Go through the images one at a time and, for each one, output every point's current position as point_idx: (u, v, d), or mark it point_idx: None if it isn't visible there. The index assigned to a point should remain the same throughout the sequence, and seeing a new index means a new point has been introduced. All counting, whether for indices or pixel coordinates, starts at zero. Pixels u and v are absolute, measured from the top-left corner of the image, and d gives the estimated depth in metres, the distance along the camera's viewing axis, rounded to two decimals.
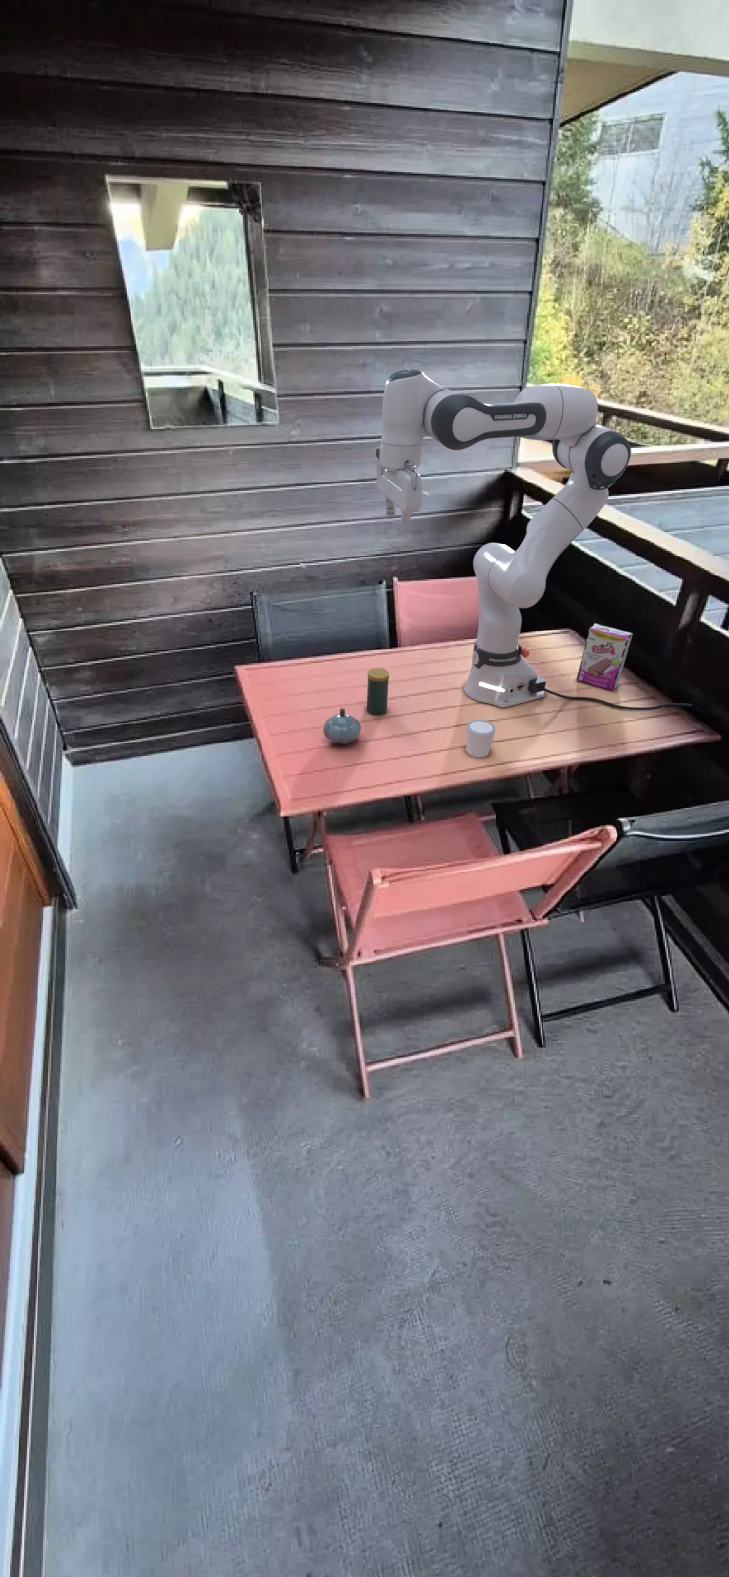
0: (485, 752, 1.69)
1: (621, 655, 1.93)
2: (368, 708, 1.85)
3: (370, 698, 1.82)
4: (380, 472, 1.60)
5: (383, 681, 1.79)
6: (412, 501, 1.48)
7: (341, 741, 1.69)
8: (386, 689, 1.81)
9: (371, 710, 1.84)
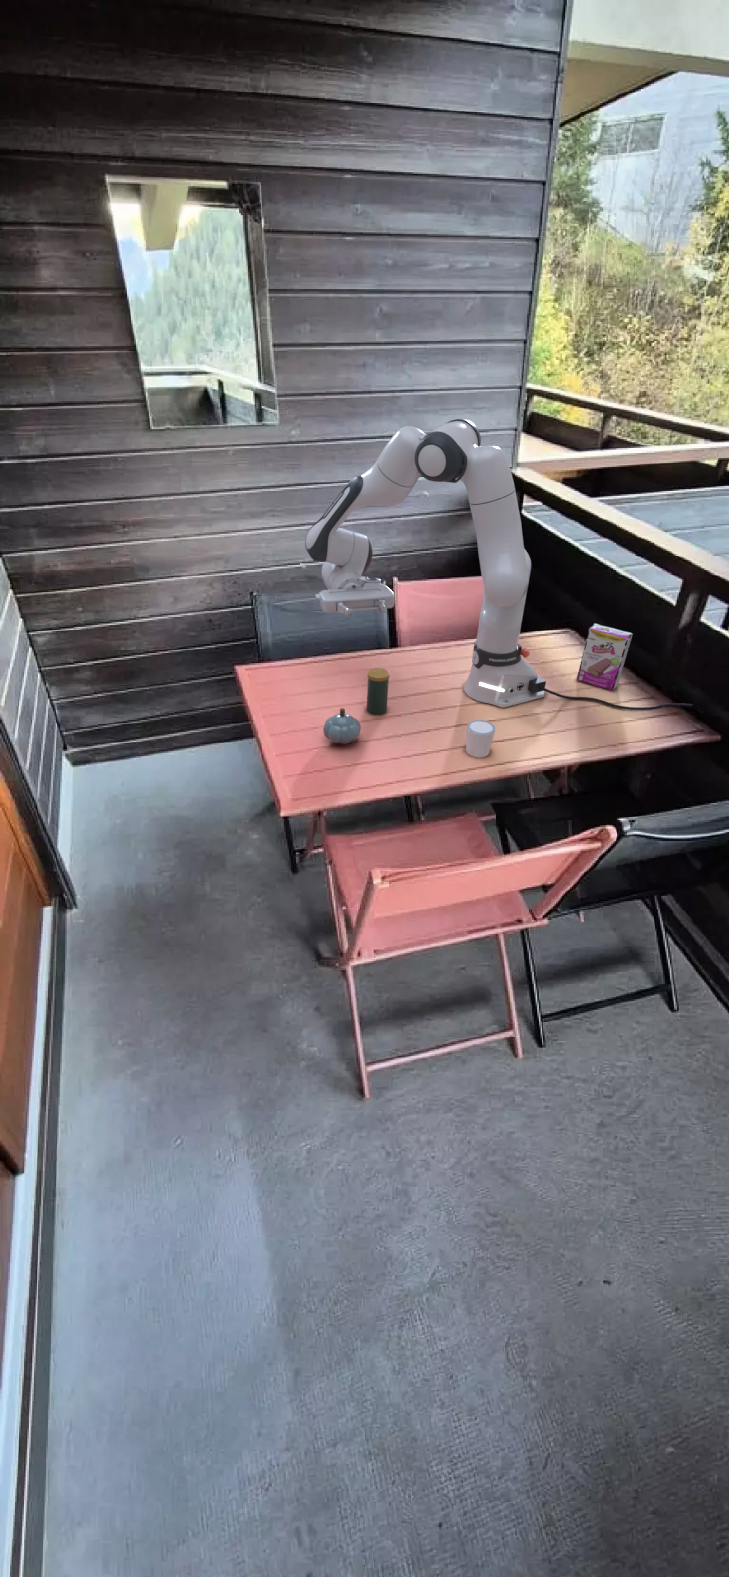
0: (485, 752, 1.69)
1: (621, 655, 1.93)
2: (368, 708, 1.85)
3: (370, 698, 1.82)
4: None
5: (383, 681, 1.79)
6: (321, 605, 1.84)
7: (341, 741, 1.69)
8: (386, 689, 1.81)
9: (371, 710, 1.84)
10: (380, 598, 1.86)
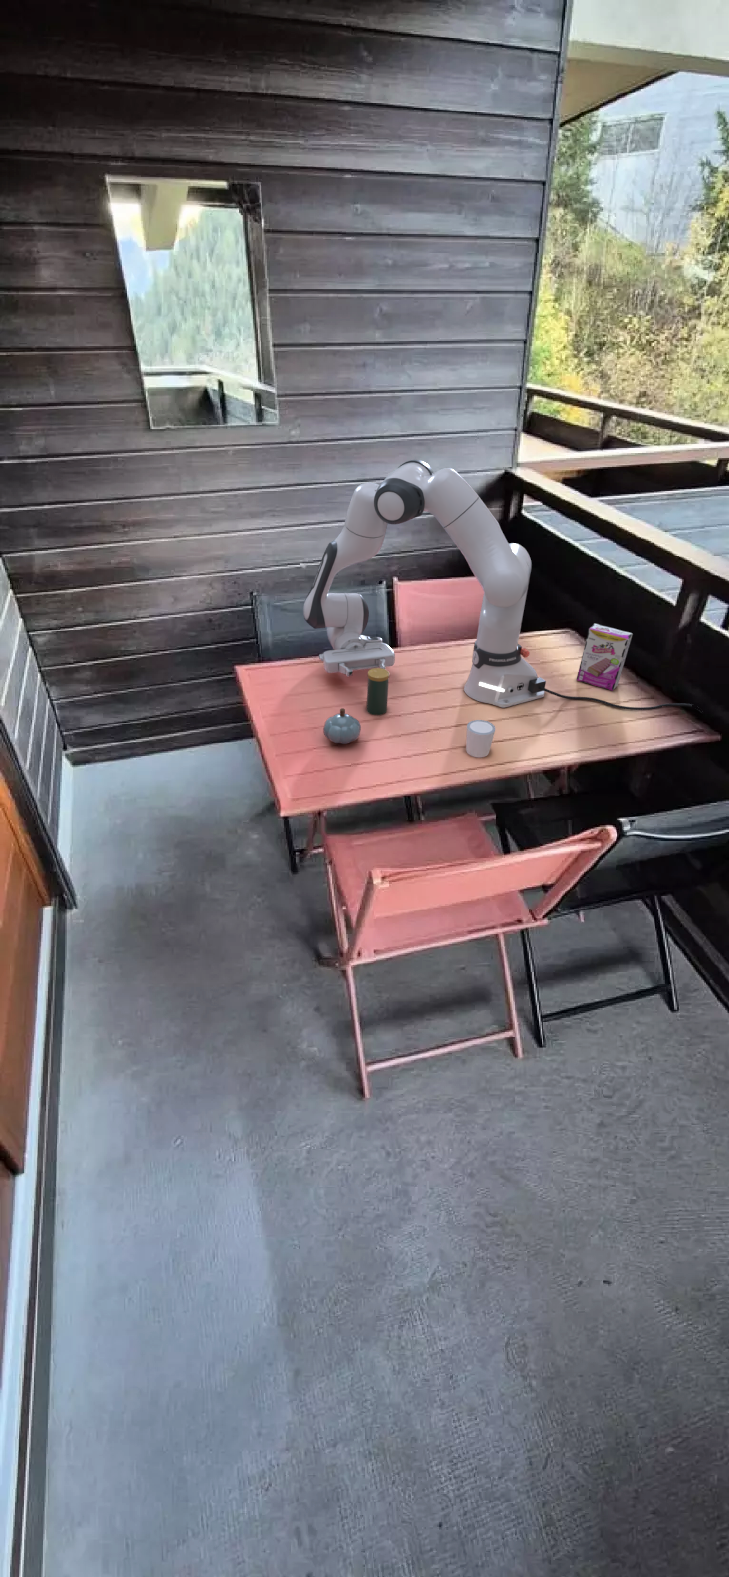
0: (485, 752, 1.69)
1: (621, 655, 1.93)
2: (368, 708, 1.85)
3: (370, 698, 1.82)
4: None
5: (383, 681, 1.79)
6: (324, 665, 1.93)
7: (341, 741, 1.69)
8: (386, 689, 1.81)
9: (371, 710, 1.84)
10: (380, 658, 1.94)
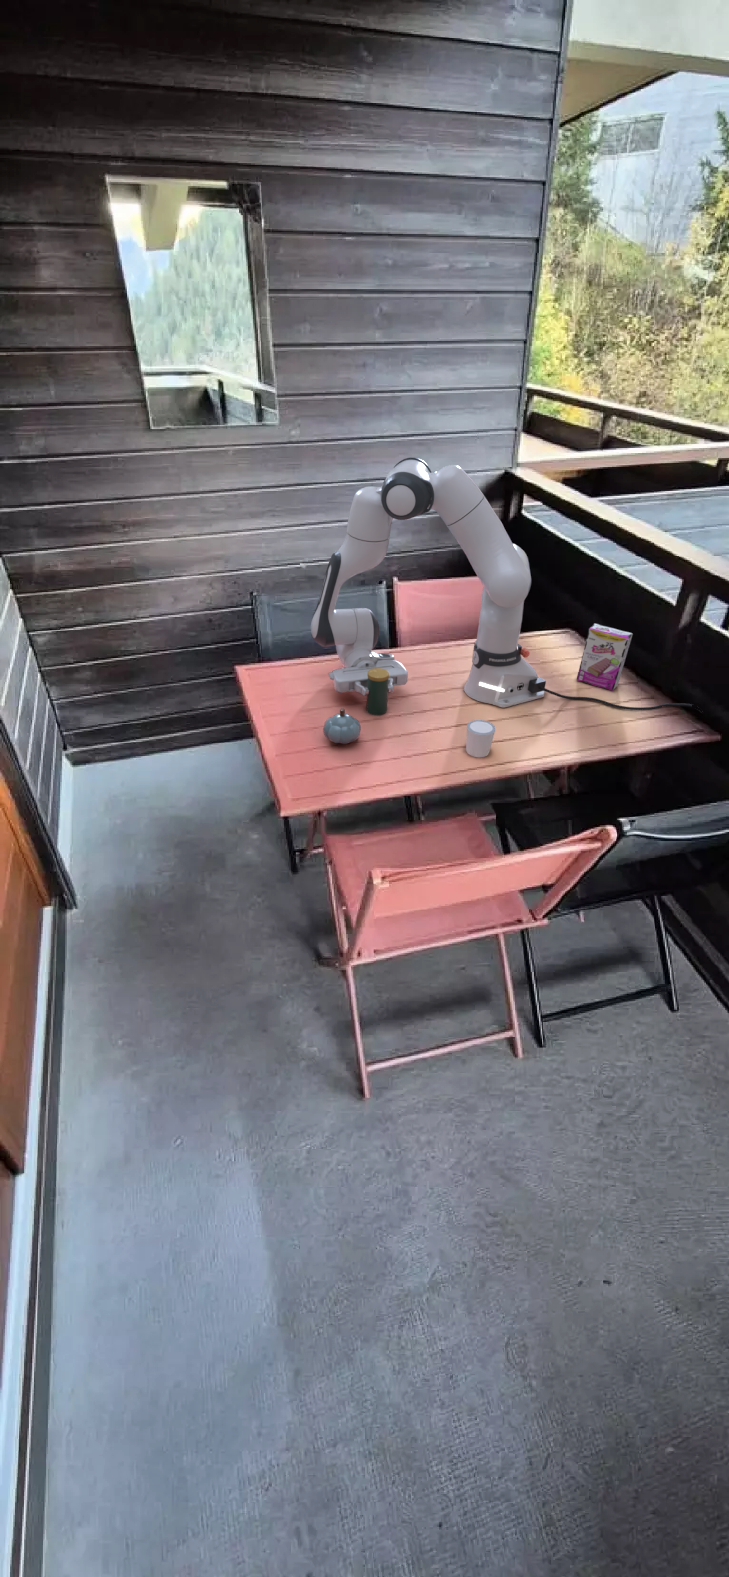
0: (485, 752, 1.69)
1: (621, 655, 1.93)
2: (368, 708, 1.85)
3: (370, 698, 1.82)
4: None
5: (382, 681, 1.79)
6: (334, 684, 1.85)
7: (341, 741, 1.69)
8: (386, 689, 1.81)
9: (371, 710, 1.84)
10: (393, 676, 1.86)
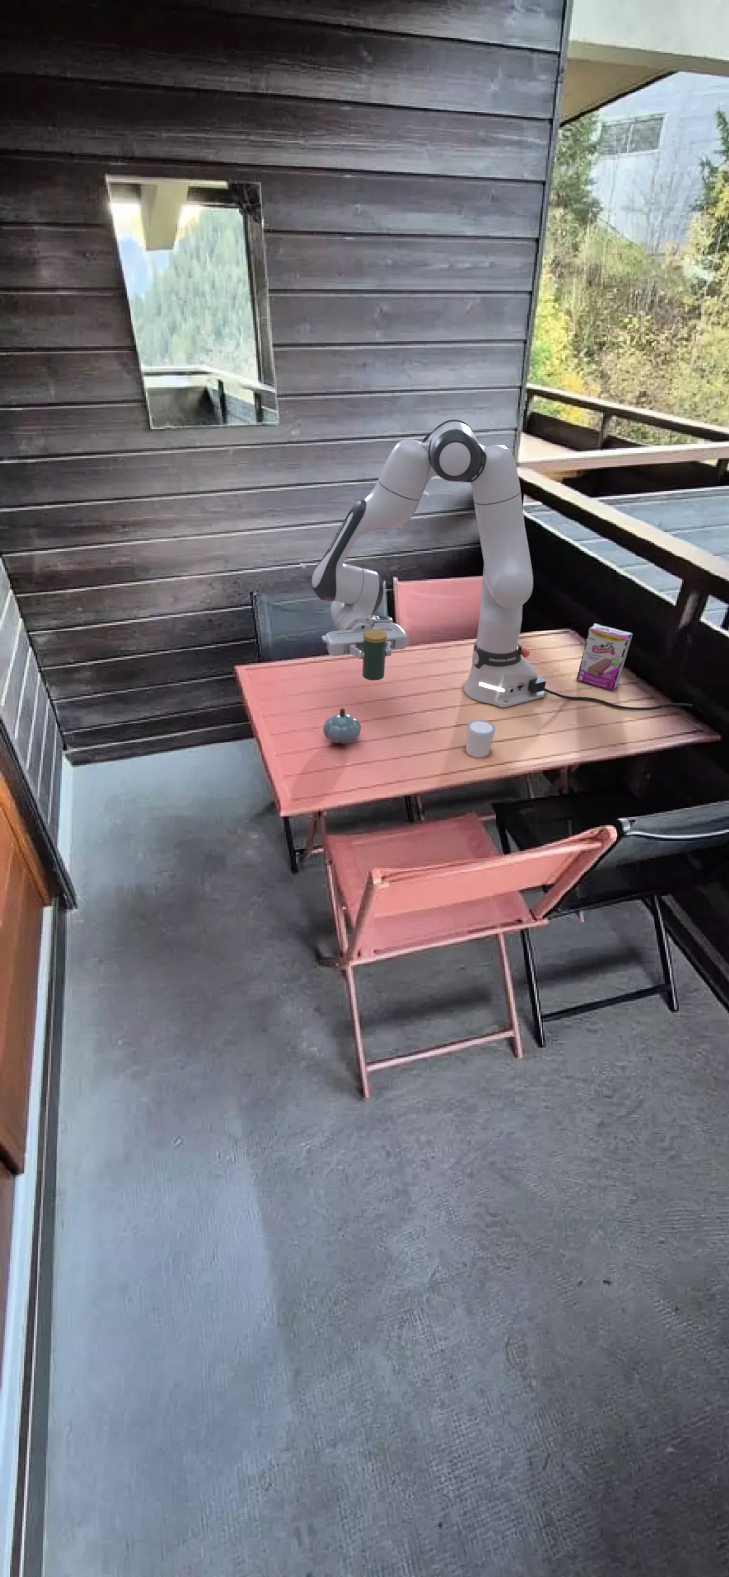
0: (485, 752, 1.69)
1: (621, 655, 1.93)
2: (364, 673, 1.71)
3: (366, 661, 1.69)
4: None
5: (379, 642, 1.65)
6: (328, 647, 1.72)
7: (341, 741, 1.69)
8: (383, 652, 1.68)
9: (367, 675, 1.71)
10: (391, 639, 1.73)
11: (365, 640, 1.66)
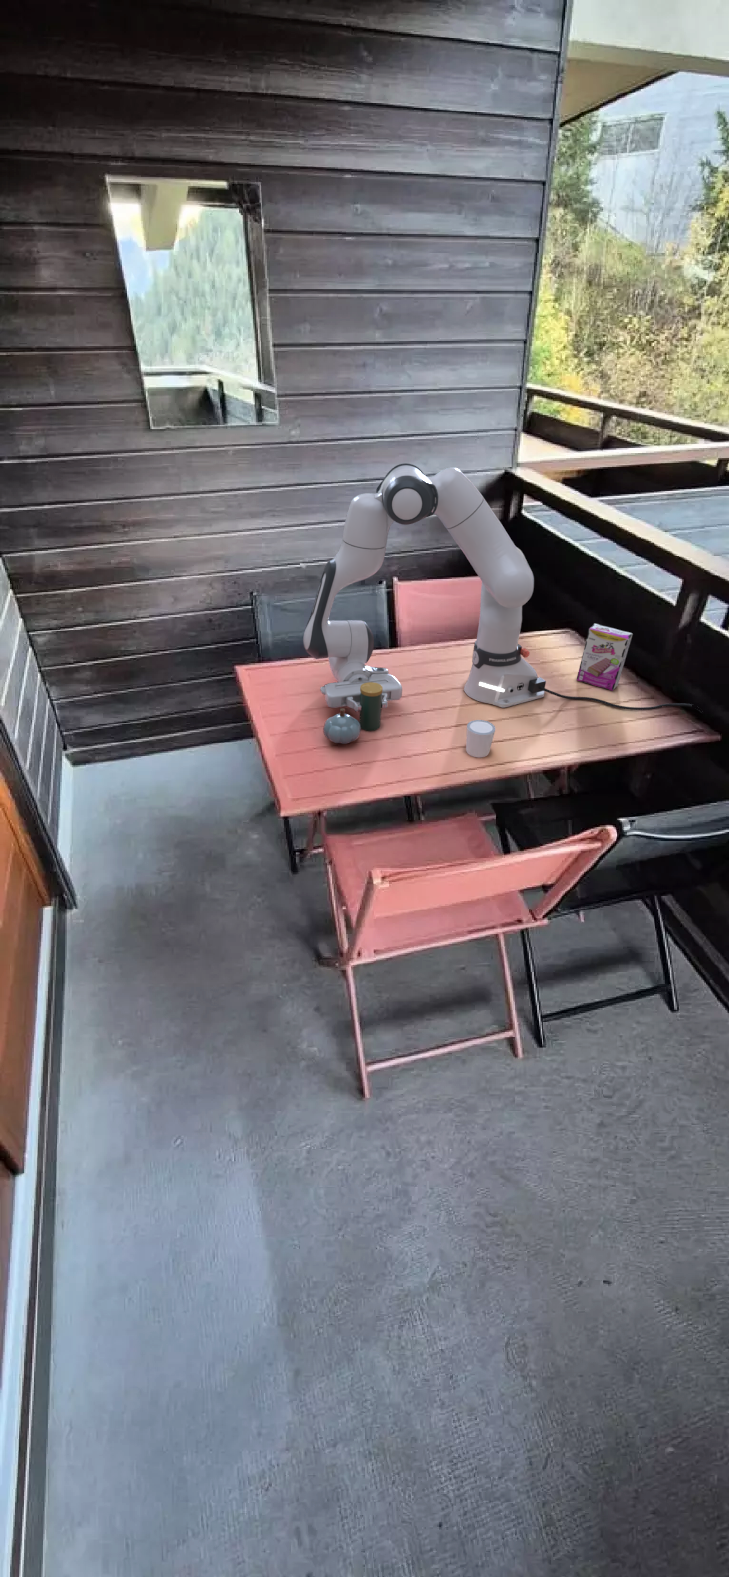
0: (485, 752, 1.69)
1: (621, 655, 1.93)
2: (361, 723, 1.78)
3: (363, 713, 1.76)
4: None
5: (376, 696, 1.72)
6: (326, 699, 1.79)
7: (341, 741, 1.69)
8: (379, 704, 1.75)
9: (364, 726, 1.78)
10: (387, 691, 1.80)
11: (362, 693, 1.73)
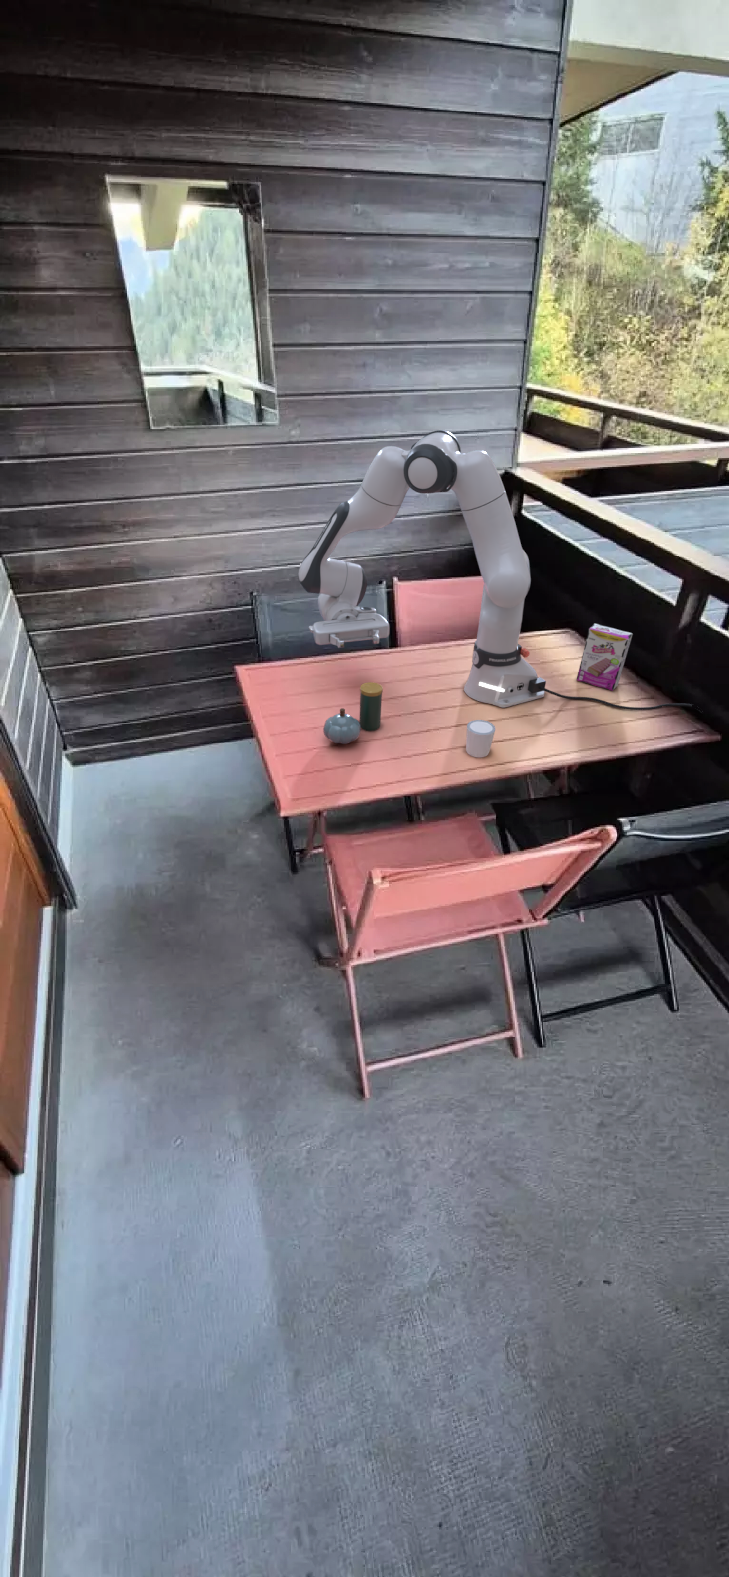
0: (485, 752, 1.69)
1: (621, 655, 1.93)
2: (361, 723, 1.78)
3: (363, 713, 1.76)
4: None
5: (376, 696, 1.72)
6: (314, 637, 1.82)
7: (341, 741, 1.69)
8: (379, 704, 1.75)
9: (364, 726, 1.78)
10: (374, 628, 1.83)
11: (362, 693, 1.73)
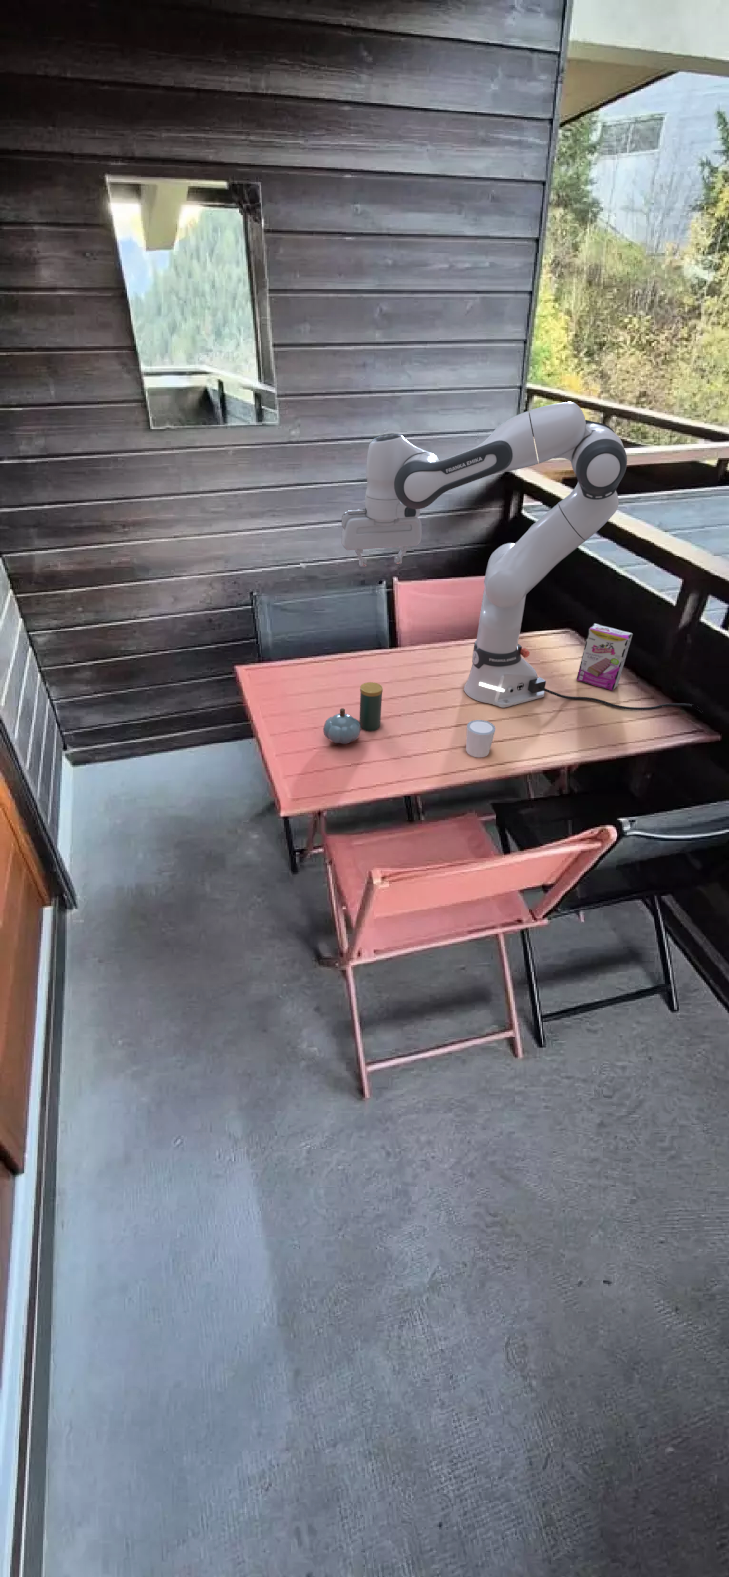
0: (485, 752, 1.69)
1: (621, 655, 1.93)
2: (361, 723, 1.78)
3: (363, 713, 1.76)
4: None
5: (376, 696, 1.72)
6: (342, 537, 1.71)
7: (341, 741, 1.69)
8: (379, 704, 1.75)
9: (364, 726, 1.78)
10: (403, 546, 1.75)
11: (362, 693, 1.73)
